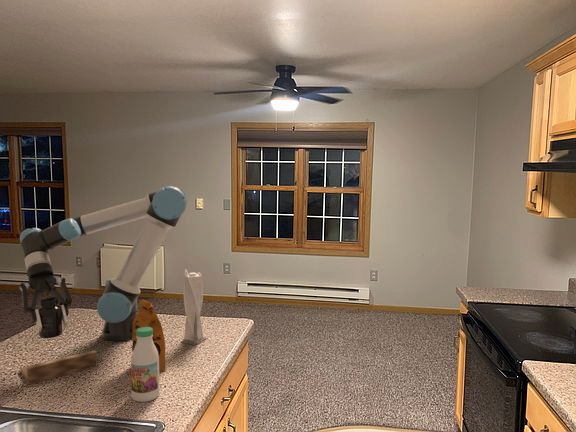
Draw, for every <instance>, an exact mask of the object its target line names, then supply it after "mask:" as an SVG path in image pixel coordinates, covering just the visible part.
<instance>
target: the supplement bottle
mask: <svg viewBox="0 0 576 432" xmlns="http://www.w3.org/2000/svg"><path fill="white" fill-rule="evenodd" d="M38 311H39V315H40V320H41V324H42V329H41V331H40V332H38V337H39V338H40V339H52V338H57V337H59V336H61V335H62V334H63V321H62V309H61V306H60V305H59V303H58V298H56V297H53V296H51V297H50V296H49V297H44V298H42V299H40V308H38Z"/></svg>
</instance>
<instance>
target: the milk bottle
mask: <svg viewBox="0 0 576 432" xmlns="http://www.w3.org/2000/svg"><path fill="white" fill-rule="evenodd" d="M152 336H153V329H152V328H151V327H141V328H138V329H137V330H136V338H137V343H136V346H135V348H134V350H133V353H131V359H130V360H131V362H130V369H131V370H130V378H131V380H130V383H131V384H130V385H131V386H130V387H131V388H130V389H131V390H130V391H131V398H132V400H133V401H135V402H139V403H145V402H151V401H153V400H155V399H157V398H158V397H159V395H160V372H159V356H158V351H157V349H156V347H155V345H154V343H153V340H152Z"/></svg>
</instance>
